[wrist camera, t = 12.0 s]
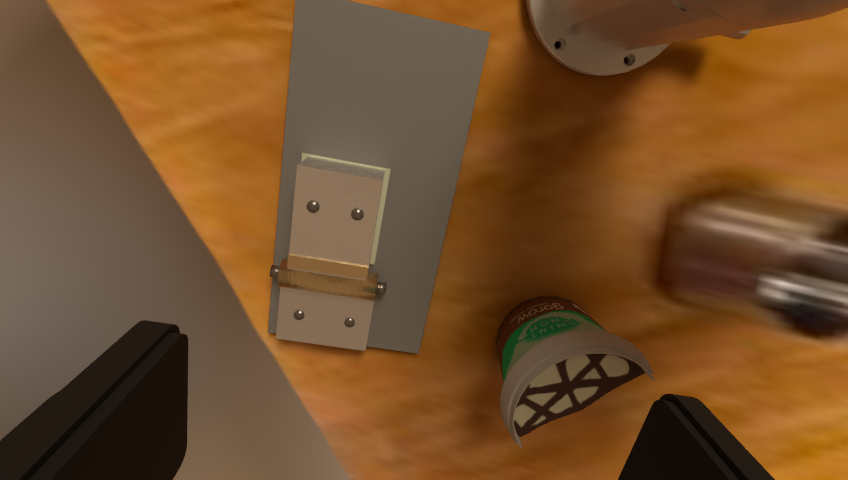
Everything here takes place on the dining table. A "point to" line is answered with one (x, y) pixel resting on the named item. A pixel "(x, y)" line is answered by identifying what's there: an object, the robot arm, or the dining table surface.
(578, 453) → the dining table surface
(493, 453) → the dining table surface
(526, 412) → the food container
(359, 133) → the board
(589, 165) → the dining table surface
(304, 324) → the fixed leaf
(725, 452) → the robot arm
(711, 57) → the dining table surface
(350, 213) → the tan studded block
